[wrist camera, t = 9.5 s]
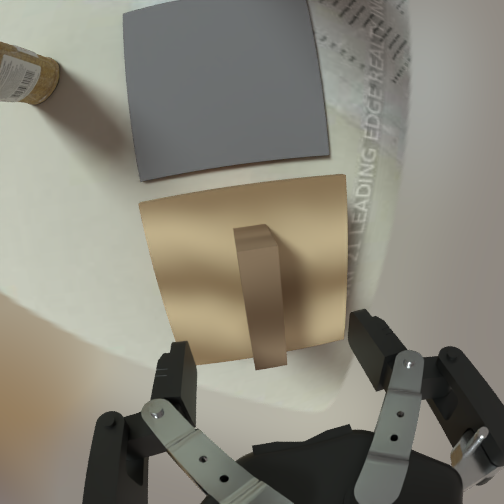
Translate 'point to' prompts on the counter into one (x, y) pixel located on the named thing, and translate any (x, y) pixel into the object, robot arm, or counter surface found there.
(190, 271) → the board
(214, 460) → the robot arm
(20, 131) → the counter surface
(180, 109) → the rubber mat
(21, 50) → the sprinkles bottle
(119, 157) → the counter surface
